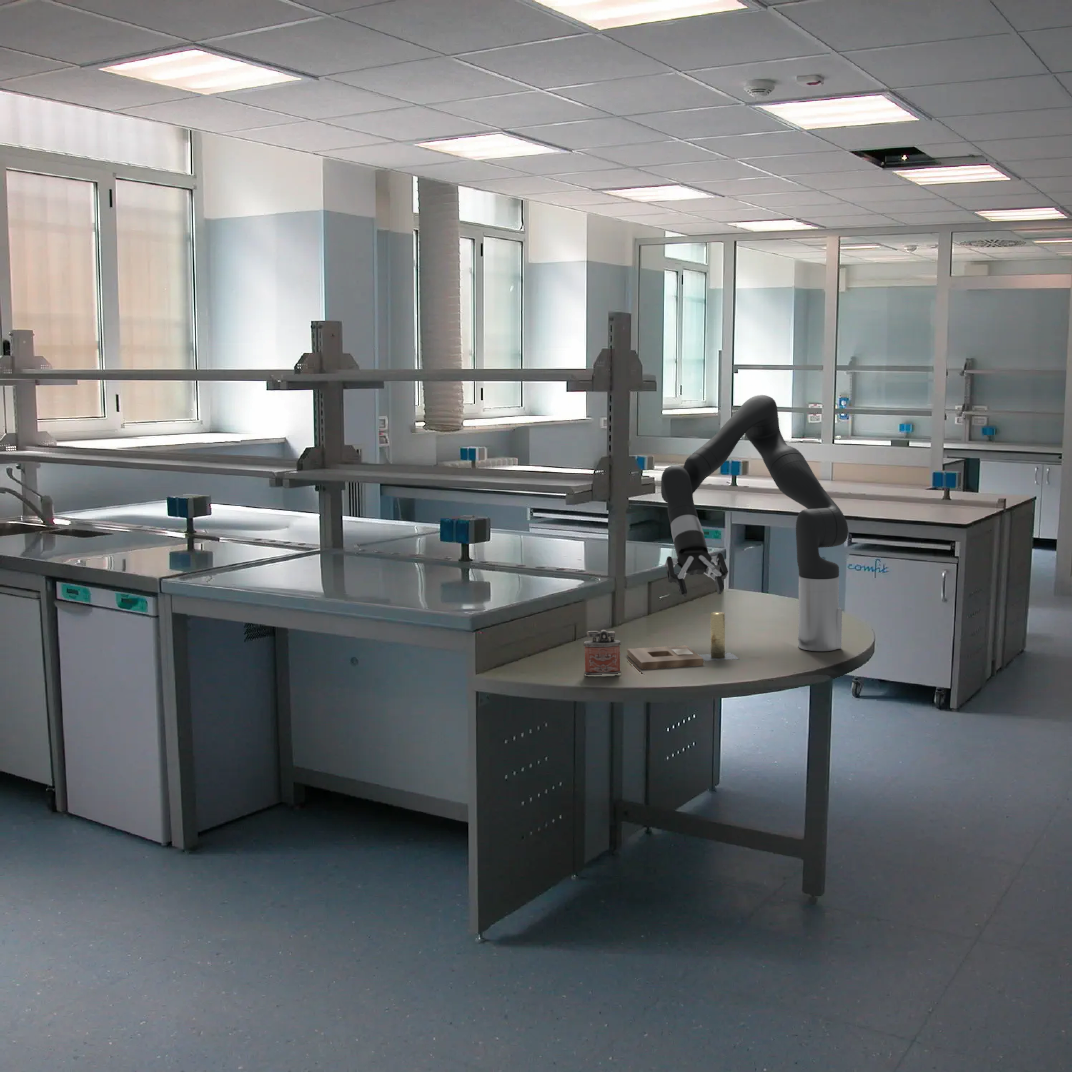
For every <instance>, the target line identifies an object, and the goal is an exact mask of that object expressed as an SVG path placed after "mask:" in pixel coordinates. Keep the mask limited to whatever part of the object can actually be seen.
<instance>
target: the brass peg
mask: <svg viewBox="0 0 1072 1072" xmlns="http://www.w3.org/2000/svg"><path fill="white" fill-rule="evenodd" d="M709 615H710V620H709V623H710V625H709V626H710V654H711V657H712V658H724V657H725V653H726V627H725V626H726V621H725V620H726V614H725V612H721V611H713V612H711V613H710V614H709Z"/></svg>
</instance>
